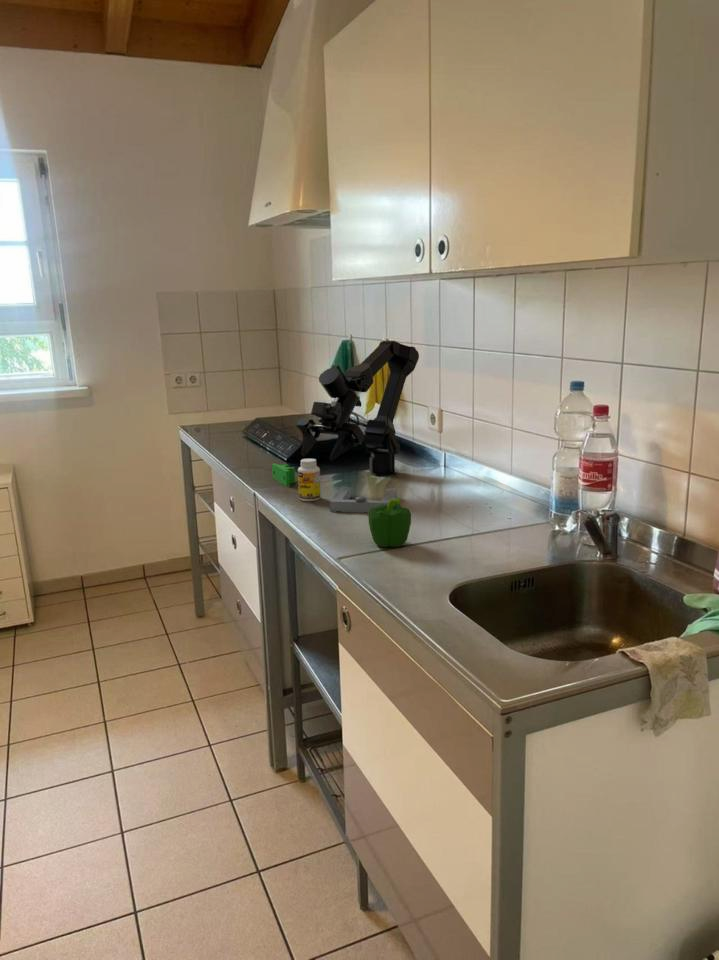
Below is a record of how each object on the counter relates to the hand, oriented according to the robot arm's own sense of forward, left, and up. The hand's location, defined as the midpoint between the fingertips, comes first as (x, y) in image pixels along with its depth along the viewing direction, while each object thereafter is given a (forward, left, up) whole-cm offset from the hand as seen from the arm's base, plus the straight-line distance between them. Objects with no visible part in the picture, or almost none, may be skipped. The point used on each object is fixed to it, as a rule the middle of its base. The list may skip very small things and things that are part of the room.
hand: (316, 457), depth 185 cm
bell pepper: (-4, +43, -10) cm, 44 cm away
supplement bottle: (+3, +2, -10) cm, 11 cm away
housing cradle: (-9, +12, -10) cm, 18 cm away
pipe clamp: (+5, -19, -11) cm, 22 cm away
